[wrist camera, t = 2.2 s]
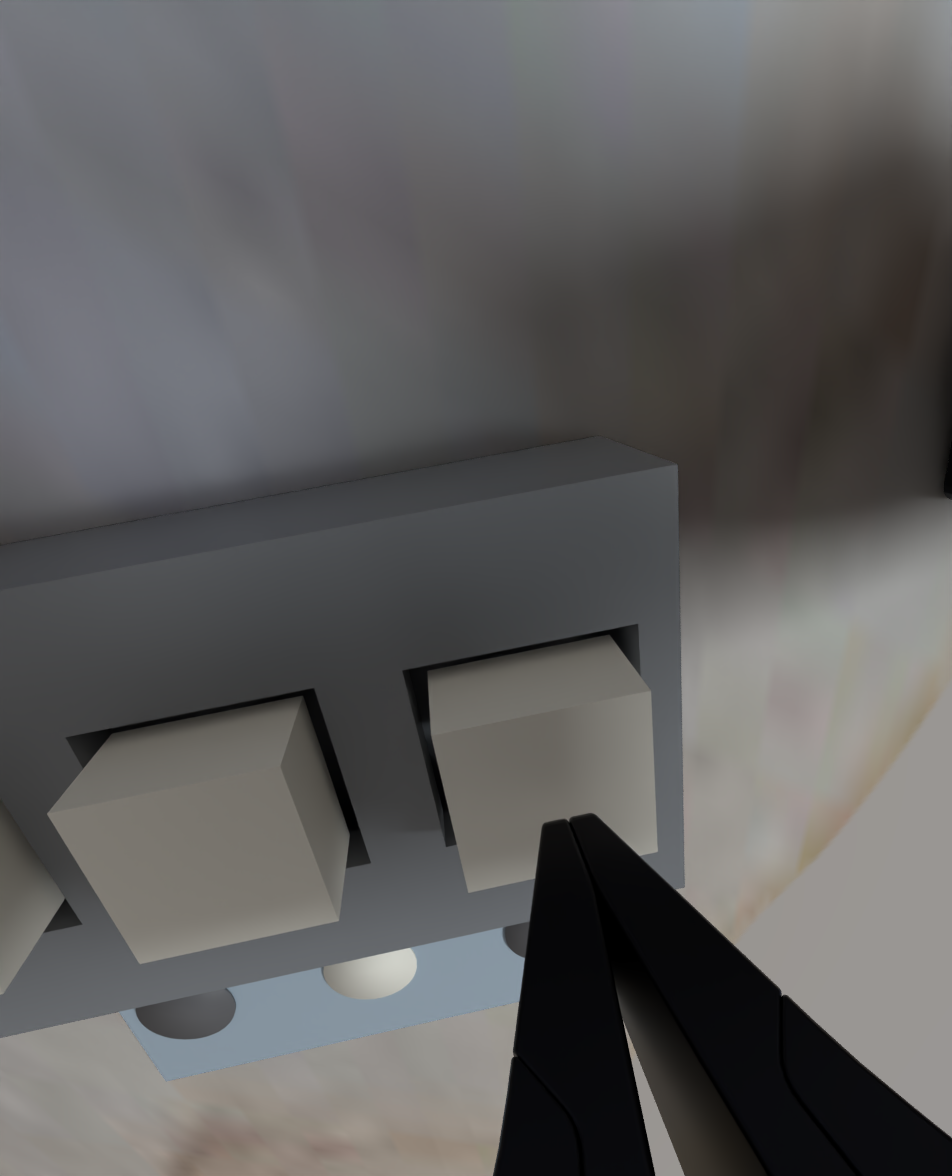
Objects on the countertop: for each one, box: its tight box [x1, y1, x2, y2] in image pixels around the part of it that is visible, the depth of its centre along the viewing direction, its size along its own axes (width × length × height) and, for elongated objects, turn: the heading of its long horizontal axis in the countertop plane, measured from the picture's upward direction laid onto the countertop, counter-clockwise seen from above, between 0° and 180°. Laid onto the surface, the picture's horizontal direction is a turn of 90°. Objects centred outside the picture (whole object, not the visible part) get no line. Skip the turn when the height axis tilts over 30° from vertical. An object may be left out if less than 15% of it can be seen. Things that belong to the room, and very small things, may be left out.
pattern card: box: [119, 921, 530, 1081], centre depth 18 cm, size 16×7×1 cm, turn 99°
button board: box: [0, 436, 685, 1038], centre depth 12 cm, size 18×10×4 cm, turn 99°
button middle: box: [47, 696, 350, 964], centre depth 10 cm, size 4×4×2 cm
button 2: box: [427, 635, 658, 893], centre depth 10 cm, size 4×4×2 cm
